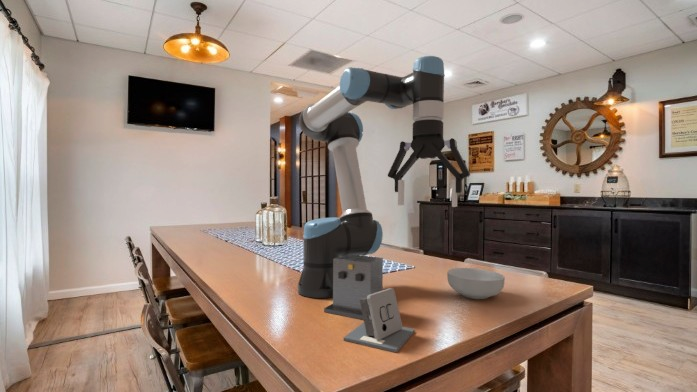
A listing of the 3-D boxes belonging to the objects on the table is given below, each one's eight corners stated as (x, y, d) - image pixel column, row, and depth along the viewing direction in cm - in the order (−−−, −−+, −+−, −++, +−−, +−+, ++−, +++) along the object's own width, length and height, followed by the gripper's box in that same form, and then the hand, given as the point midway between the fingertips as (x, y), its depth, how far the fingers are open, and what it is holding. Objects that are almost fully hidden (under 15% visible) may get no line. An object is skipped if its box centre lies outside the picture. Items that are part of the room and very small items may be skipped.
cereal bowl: (477, 307, 97) (477, 282, 97) (435, 292, 112) (436, 270, 112) (516, 299, 105) (516, 275, 105) (473, 286, 120) (473, 265, 120)
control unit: (324, 312, 92) (324, 259, 92) (345, 299, 103) (346, 252, 103) (372, 321, 86) (372, 264, 86) (390, 307, 96) (390, 257, 96)
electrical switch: (378, 342, 72) (375, 296, 73) (359, 337, 76) (356, 294, 76) (403, 329, 79) (400, 288, 80) (384, 326, 83) (382, 286, 83)
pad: (343, 340, 75) (343, 337, 75) (367, 322, 85) (367, 319, 85) (396, 352, 69) (396, 349, 69) (414, 331, 80) (414, 328, 80)
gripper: (482, 119, 85) (481, 206, 85) (386, 127, 96) (386, 204, 97) (478, 113, 78) (477, 207, 78) (376, 122, 90) (375, 204, 90)
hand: (426, 206), depth 87 cm, fingers open, 13 cm apart
